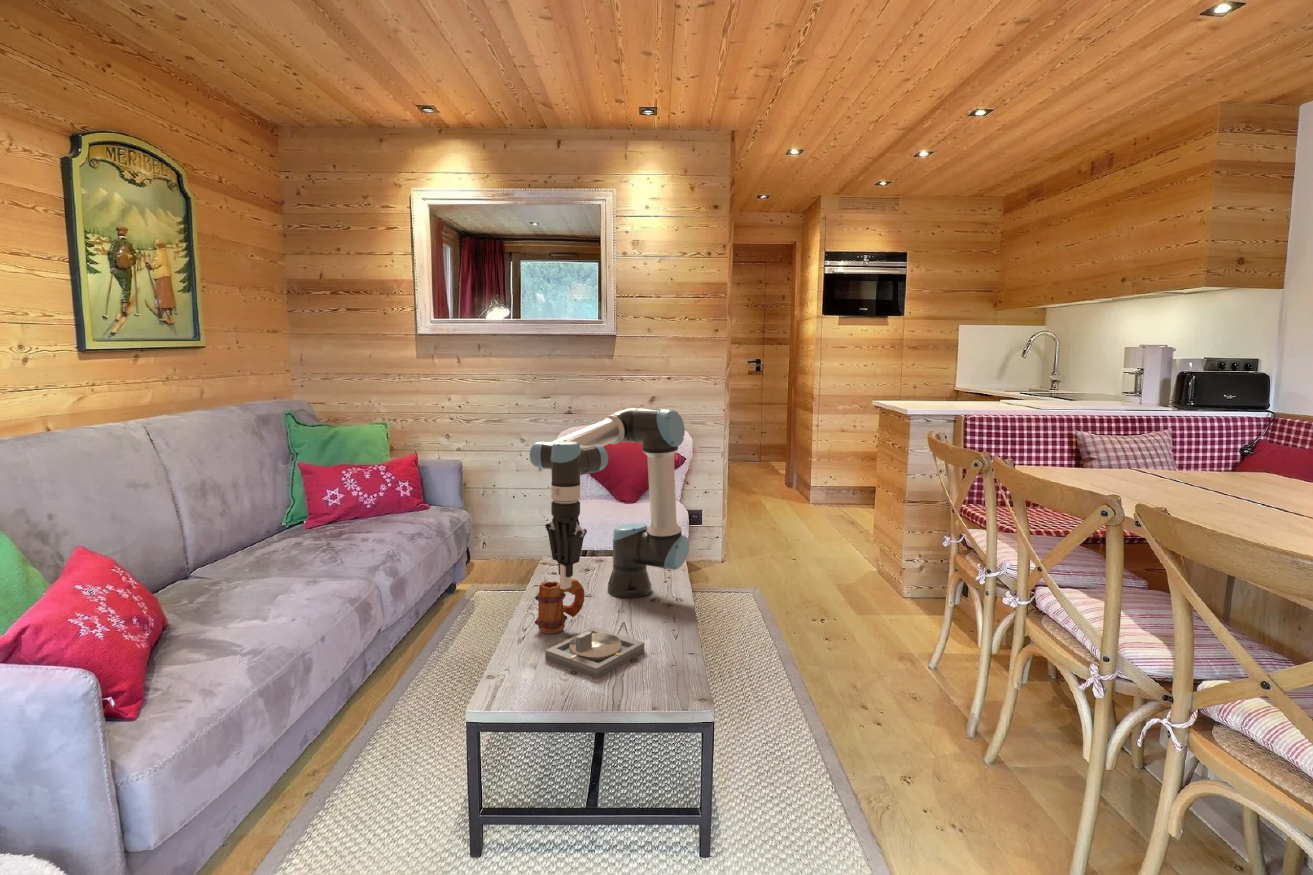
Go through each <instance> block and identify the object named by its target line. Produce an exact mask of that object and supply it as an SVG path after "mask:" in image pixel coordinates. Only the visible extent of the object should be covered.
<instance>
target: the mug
mask: <svg viewBox="0 0 1313 875" xmlns="http://www.w3.org/2000/svg"><path fill="white" fill-rule="evenodd" d="M538 587H539V588H538V592H537V595H535V597H534V599H535V600H536V601H537V602H538V604H537V605H538V607H537V608H538V611H537V612H538V616H537V618H536V620H534V624H535V625H537V626H538V630H539V631H540V632H541V633H543V634H548V635H553V634H556V633H559V632H560V631H562V630H563V629H565V628H566V625H565V624H566V622H567V621H566V620H567V619H568V616H570V617H572V618H574V617H576V616H577V615H578V614H579V612H581V610H582V608H583V606H584V603H585V597H586V594H585V590H584V586H583V585H582V583H581V582H580V581H579V580H577V579H575V578H571V587H570V588H567V589H560V582H558V581H553V582H551V581H547V582H546V581H545V582H542V583H540V584H539V585H538ZM567 592H568V593H570V594H571V595H574V600H573V601H572V603H571V604H570V605H564V601H563V600H565V598H566V596H567V594H566V593H567ZM564 613H565V614H567V615H568V616H567V615H565V614H564Z"/></svg>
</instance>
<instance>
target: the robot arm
mask: <svg viewBox="0 0 1313 875" xmlns="http://www.w3.org/2000/svg"><path fill="white" fill-rule="evenodd" d="M685 431H686V430H685V423H684V420H683V418H682V416H681V415H680V414H679V412H678V411H676V410H675V409H668V408H661V407H660V408H659V407H639V406H636V407H629V408H624V409H622V410H618V411H615V412H613V413H610V414H608V415H605V416H603V417H602V418H601V420H600V421H598V422H596V423H593V424H590V425H589V426H586V427H584V428H582V429H579V430H577V431H574V432H572V433H570V434H567V435H565V436H562V437H560V438H557V439H555V440H551V441H546V440H545V441H537V442H535V443H533V444H532V446H531V448H530V450H529V460H530V463H531V465H533V466H534V467H536V468H540V469H543V470H550V471H551V484H550V485H551V490H550V491H551V500H552V502H551V504H550V505H551V506H550V507H551V508H550V509H551V511H550V512H551V513H550V514H551V515H552V516H553V517H552V518H551V519H552V520H551V521H550V522H548V523H546V524H544V526H545V529H546V531H547V535H548V540H549V546H550V551H551V553H550V554H551V557H552V560H553V561H556V562H557V564H558V575H559V583H560V589H567V588H570V587H571V580H572V577H573V575H574V565H575V564H577V563H579V562H580V559H581V553H582V549H583V545H584V543H583V542H584V539H585V536H586V535H587V532H588V531H587V529H586V528H582V527H581V524H580V520H579V516H580V515H581V502H580V499H581V476H584V475H588V474H592V473H593V474H595V473H598V472H601V471H602V470H604V469H605V468H606V467H607V465H608V462H609V454H608V451H607V450H606V449H605V446H608V445H609V444H611V445H617V444H619V443H636V444H641V446H642V448H641V450H642V452H643V453H644V454H645V455H646V457H647V458H646V459H647V470H648V471H647V472H648V473H647V474H648V492H649V497H648V498H649V512H650V513H649V514H650V525H649V526H648V525H647V524H646V523H628V524H623V525H620V526H617V527H616V528H615V529H614V530H613V534H612V535H613V536H612V571H611V574H610V577H609V581H608V583H607V592H608V594H610V595H611V596H615V597H617V598H625V599H626V598H627V599H631V598H632V599H633V598H642V597H645V596H648V595H649V594H651V592H652V583H651V582H652V581H651V580H650V576H649V573H648V569H647V568H648V566H649V567H655V568H658V569H664V570H673V571H674V570H675V571H676V570H679V569H680V568H681V567H682V566H683V565H684V563H685V562H686V560H687V558H688V553H689V550H690V541H689V538H688V537H687V536H686V535H683V533H682V531H683V530H682V526H680V524H678V523H677V499H676V476H675V475H676V474H675V454H676V452H678V451H679V446H681V445H682V444H683V442H684V440H685V439H684V438H685V435H686V434H685V433H686V432H685Z"/></svg>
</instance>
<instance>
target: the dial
mask: <svg viewBox="0 0 1313 875" xmlns="http://www.w3.org/2000/svg"><path fill="white" fill-rule="evenodd" d="M585 631H586V632H585ZM585 631H583V632H584V633H583V632H581V633H582V634H581V633H579V634H580V635H579V634H577V635H578V636H577V635H575V636H576V637H575V638H573V639H572V640H571V641H570V654H573V655H577V656H579V657H582V658H585V659H587V660H590V661H593V662H596V661H604V660H606V659H608V658H610V657H612V656H614V655H615V654H616V653H619V652H621V650H622V642H621V640H620V639H619V638H618V637H616V636H614V635H611V634H606V633H592V632H589V631H587V630H585Z"/></svg>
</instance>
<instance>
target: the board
mask: <svg viewBox="0 0 1313 875" xmlns="http://www.w3.org/2000/svg"><path fill="white" fill-rule="evenodd" d="M586 631H589V632H592V633H606V634H611V635H614V636H616V637H618V638H619V639H620V640H621V642H622V650H621V652H619V653H616V654H615V655H614V656H612V657H610V658H608V659H606V660H604V661H596V662H593V661H590V660H587V659H585V658H582V657H579V656H577V655H573V654H570V641H571V640H572V639H573V638H575V637H576V636H578V635H580V634H582V633H584V632H586ZM544 653H545V654H544V656H545V660H546V661H547V662H551V663H553V664H556V665H559V666H562V667H564V668H566V669H569V670H572V671H575V672H577V673H580V674H583V675H584V676H585V675H586V676H588V677H590V678H593V679H596V680H597V679H599V678H601V677H602V676H604V675H606V674H608V673H610V672H612V671H613V670H615V669H617V668H618V667H620V666H622V665H624V664H625V663H628V662H629V661H631V660H633V659H635V658H637V657H638V656H640V655H641V654H643V653H645V642H643V641H640V640H637V639H634V638H631V637H628V636H624V635H621V634H618V633H615V632H611V631H608V630H606V629H602V628H599V627H597V626H594V627H592V628H590V629H588V630H585V631H583V632H581V633H579V634H577V635H575V636H573V637H570V638H568V639H566V640H564V641H562V642H559V643H558V644H556V645H553V646H551V647H549V648H547V649H545V651H544Z"/></svg>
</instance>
